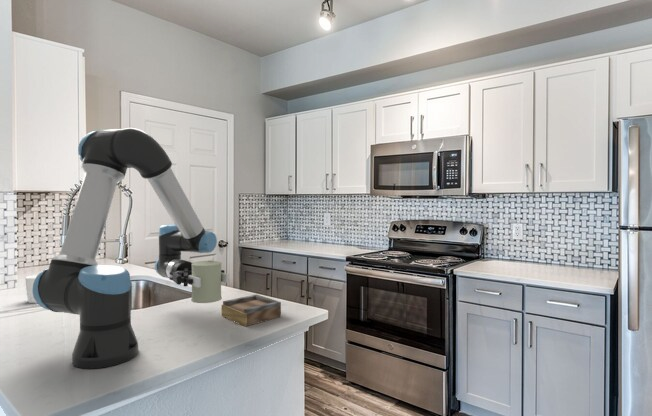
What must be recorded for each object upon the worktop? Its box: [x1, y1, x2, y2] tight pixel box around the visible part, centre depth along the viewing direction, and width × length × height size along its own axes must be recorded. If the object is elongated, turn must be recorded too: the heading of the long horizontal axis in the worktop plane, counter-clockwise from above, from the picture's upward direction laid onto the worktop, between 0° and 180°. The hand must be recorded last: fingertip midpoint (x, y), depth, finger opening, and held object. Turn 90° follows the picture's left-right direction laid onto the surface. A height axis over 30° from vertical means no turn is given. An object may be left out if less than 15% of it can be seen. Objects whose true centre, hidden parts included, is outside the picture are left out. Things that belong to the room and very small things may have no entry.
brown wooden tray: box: [221, 294, 282, 327], centre depth 137 cm, size 15×15×5 cm
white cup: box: [25, 274, 39, 304], centre depth 156 cm, size 8×8×10 cm
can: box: [190, 260, 223, 304], centre depth 123 cm, size 9×9×12 cm
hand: (213, 280), depth 120 cm, fingers closed on can, 9 cm apart
